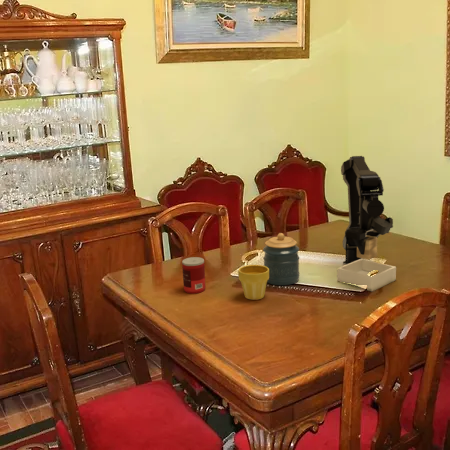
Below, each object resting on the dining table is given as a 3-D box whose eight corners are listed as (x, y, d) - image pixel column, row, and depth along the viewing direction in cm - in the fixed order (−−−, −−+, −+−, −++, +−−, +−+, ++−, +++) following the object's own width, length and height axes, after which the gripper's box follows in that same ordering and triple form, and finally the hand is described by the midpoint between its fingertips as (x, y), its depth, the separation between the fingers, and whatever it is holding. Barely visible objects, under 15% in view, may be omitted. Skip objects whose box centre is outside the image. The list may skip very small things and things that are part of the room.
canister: (306, 278, 214) (306, 232, 210) (285, 288, 205) (284, 240, 201) (278, 271, 223) (277, 226, 218) (256, 280, 214) (255, 234, 209)
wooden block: (368, 259, 204) (369, 240, 202) (356, 256, 207) (357, 238, 205) (377, 256, 207) (377, 237, 205) (365, 253, 210) (365, 234, 208)
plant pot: (253, 288, 207) (252, 262, 204) (275, 295, 200) (275, 268, 197) (233, 297, 200) (231, 269, 197) (255, 304, 193) (254, 276, 190)
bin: (337, 281, 210) (337, 268, 209) (361, 271, 219) (361, 258, 218) (371, 291, 199) (372, 277, 198) (395, 280, 209) (396, 266, 207)
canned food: (208, 286, 210) (207, 257, 207) (200, 294, 203) (199, 264, 200) (189, 285, 213) (187, 256, 210) (180, 293, 205) (178, 263, 203)
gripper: (371, 218, 191) (370, 264, 195) (403, 208, 203) (401, 251, 207) (344, 213, 199) (343, 257, 203) (375, 203, 211) (374, 244, 215)
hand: (366, 252), depth 207 cm, fingers closed on wooden block, 5 cm apart
